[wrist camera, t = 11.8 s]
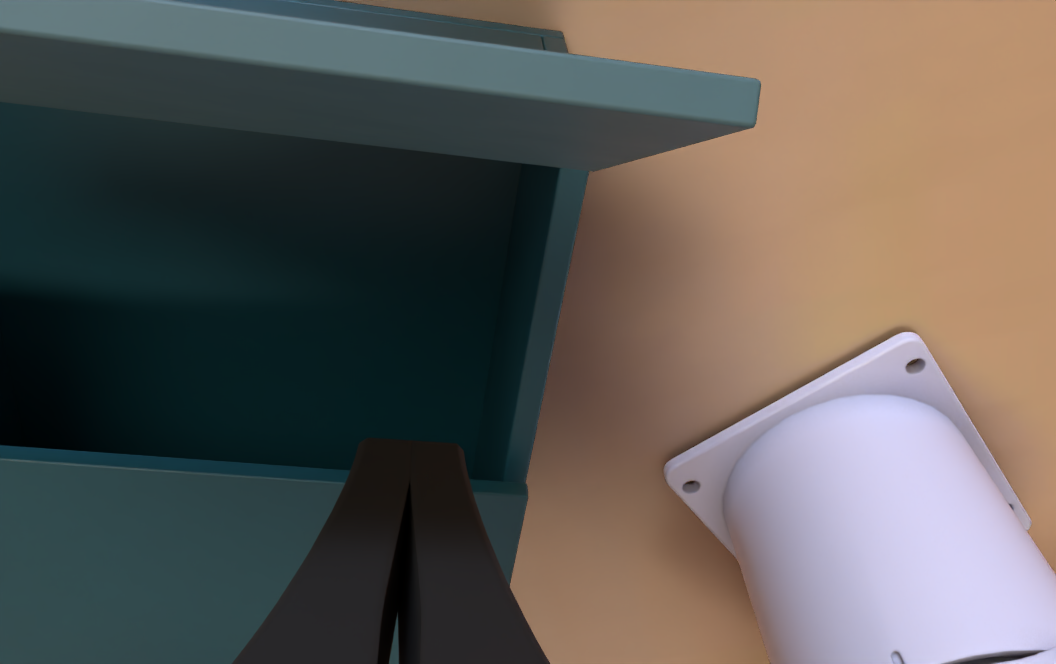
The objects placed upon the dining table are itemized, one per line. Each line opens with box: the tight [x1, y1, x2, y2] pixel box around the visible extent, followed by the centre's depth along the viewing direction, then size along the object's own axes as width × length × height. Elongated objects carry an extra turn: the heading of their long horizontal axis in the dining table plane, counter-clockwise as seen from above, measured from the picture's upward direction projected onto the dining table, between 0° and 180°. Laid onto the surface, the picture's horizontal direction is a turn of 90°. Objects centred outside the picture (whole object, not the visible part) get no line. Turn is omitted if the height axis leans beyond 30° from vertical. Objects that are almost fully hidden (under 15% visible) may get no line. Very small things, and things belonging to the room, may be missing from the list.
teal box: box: [0, 0, 589, 664], centre depth 20 cm, size 14×13×7 cm
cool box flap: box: [0, 0, 761, 172], centre depth 10 cm, size 7×13×1 cm
